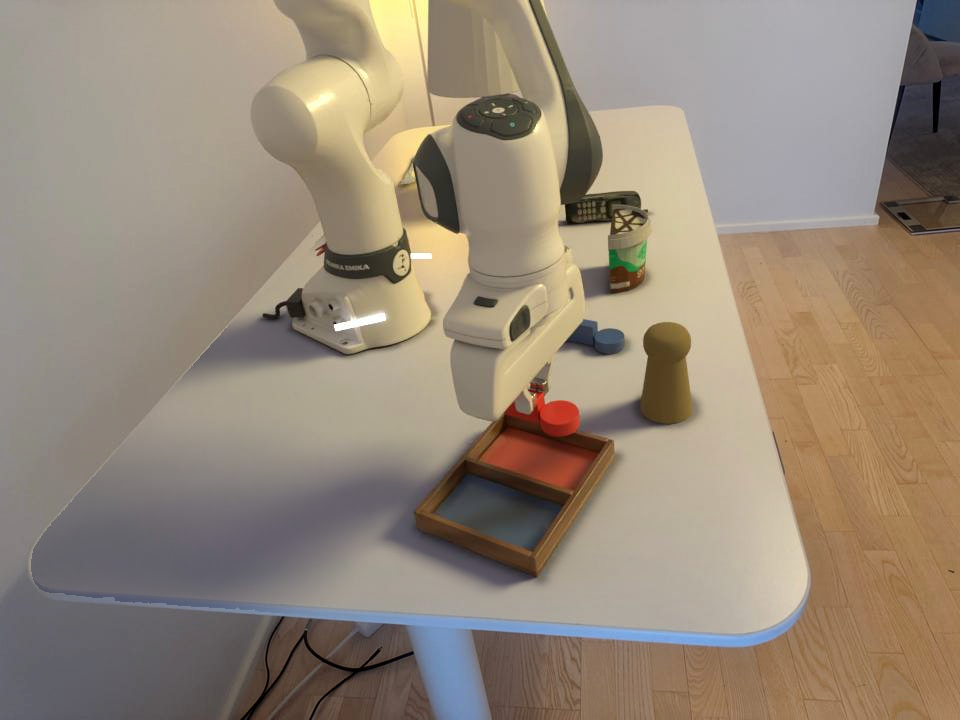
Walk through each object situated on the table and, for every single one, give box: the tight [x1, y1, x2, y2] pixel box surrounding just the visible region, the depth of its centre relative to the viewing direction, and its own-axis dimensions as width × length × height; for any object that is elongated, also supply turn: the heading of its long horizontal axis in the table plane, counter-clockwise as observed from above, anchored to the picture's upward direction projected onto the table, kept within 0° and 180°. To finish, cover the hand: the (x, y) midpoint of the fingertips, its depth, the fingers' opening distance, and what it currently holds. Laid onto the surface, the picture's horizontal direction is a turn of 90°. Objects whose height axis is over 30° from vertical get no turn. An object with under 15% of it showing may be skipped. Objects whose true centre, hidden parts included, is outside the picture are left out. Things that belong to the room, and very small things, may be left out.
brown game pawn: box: [639, 321, 693, 425], centre depth 82 cm, size 6×6×11 cm
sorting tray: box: [413, 414, 615, 578], centre depth 76 cm, size 14×18×3 cm
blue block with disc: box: [566, 318, 626, 355], centre depth 98 cm, size 11×4×3 cm, turn 58°
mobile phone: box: [564, 190, 649, 225], centre depth 131 cm, size 5×3×15 cm
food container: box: [607, 205, 653, 294], centre depth 110 cm, size 12×6×10 cm, turn 168°
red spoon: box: [503, 388, 581, 437], centre depth 75 cm, size 11×4×3 cm, turn 58°
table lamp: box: [426, 0, 549, 101], centre depth 138 cm, size 25×25×40 cm
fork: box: [398, 157, 416, 186], centre depth 168 cm, size 3×24×2 cm, turn 177°
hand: (533, 401), depth 74 cm, fingers closed on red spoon
